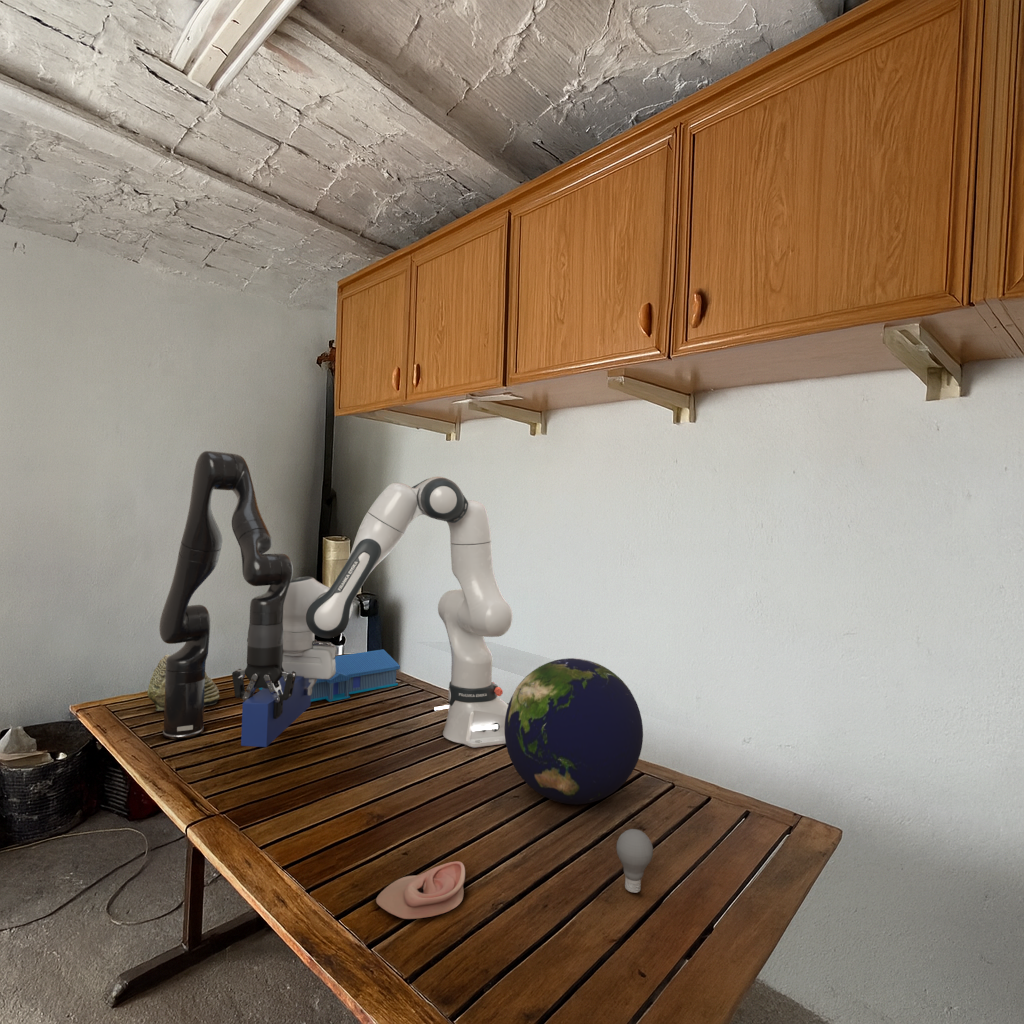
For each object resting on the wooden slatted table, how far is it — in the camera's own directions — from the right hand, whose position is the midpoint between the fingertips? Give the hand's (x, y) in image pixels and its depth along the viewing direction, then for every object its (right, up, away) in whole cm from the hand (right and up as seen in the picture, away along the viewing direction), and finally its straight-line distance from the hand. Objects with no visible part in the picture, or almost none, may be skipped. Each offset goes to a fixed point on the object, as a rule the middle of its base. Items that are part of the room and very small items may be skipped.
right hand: (294, 694), depth 162 cm
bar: (0, -5, -10) cm, 11 cm away
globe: (+68, -16, -24) cm, 74 cm away
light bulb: (+76, -17, -56) cm, 96 cm away
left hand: (0, 0, -19) cm, 19 cm away
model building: (-3, -12, +46) cm, 48 cm away
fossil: (-40, -10, +23) cm, 48 cm away
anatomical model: (+41, -15, -60) cm, 75 cm away
